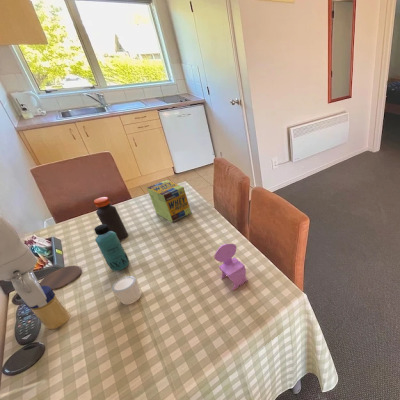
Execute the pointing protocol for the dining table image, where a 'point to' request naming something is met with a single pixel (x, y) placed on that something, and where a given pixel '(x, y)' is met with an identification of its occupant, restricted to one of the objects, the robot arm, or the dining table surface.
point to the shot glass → (127, 290)
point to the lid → (47, 292)
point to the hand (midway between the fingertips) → (40, 298)
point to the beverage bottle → (111, 248)
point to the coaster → (61, 277)
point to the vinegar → (110, 217)
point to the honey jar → (52, 314)
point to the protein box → (169, 200)
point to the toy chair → (231, 264)
